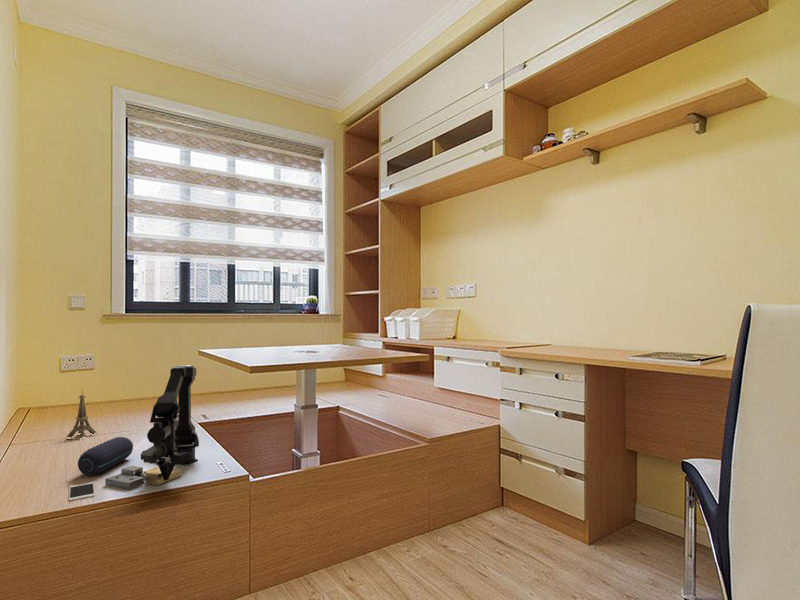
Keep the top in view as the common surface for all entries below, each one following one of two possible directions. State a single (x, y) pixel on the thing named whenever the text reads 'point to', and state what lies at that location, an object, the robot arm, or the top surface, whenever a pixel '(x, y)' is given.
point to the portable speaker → (104, 456)
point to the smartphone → (81, 491)
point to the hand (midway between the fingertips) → (166, 480)
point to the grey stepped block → (126, 478)
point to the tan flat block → (158, 476)
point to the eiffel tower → (82, 420)
